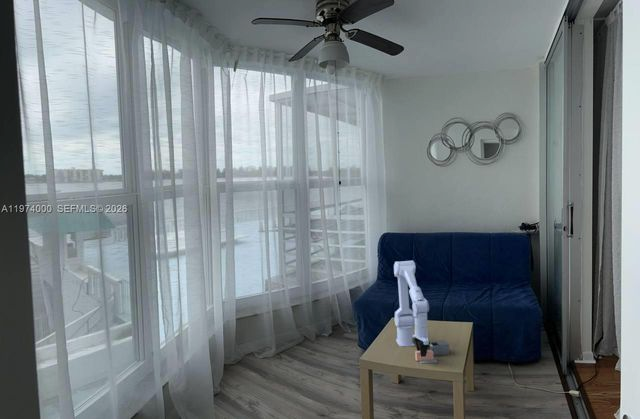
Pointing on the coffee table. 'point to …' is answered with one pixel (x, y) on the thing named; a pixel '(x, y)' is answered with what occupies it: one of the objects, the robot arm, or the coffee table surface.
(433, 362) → the pad
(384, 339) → the coffee table surface
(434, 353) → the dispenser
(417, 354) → the salmon pink brick
